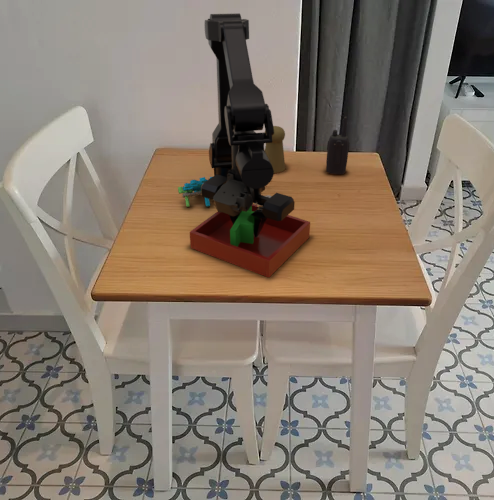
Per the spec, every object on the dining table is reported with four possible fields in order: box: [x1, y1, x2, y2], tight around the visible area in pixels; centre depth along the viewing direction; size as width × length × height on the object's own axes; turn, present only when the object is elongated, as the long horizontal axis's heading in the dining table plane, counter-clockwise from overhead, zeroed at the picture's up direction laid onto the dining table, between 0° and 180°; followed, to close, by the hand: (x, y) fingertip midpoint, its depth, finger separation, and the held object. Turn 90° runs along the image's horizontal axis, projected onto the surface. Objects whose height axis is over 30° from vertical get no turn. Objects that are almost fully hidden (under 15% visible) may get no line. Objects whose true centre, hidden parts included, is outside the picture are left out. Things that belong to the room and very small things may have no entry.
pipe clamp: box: [230, 206, 254, 247], centre depth 112 cm, size 11×4×5 cm, turn 165°
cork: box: [264, 125, 286, 174], centre depth 140 cm, size 6×6×11 cm
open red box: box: [189, 204, 311, 278], centre depth 113 cm, size 19×17×4 cm
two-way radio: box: [325, 115, 350, 175], centre depth 137 cm, size 6×4×15 cm
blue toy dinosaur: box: [177, 176, 213, 208], centre depth 126 cm, size 11×6×10 cm
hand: (246, 232), depth 113 cm, fingers closed on pipe clamp, 4 cm apart
